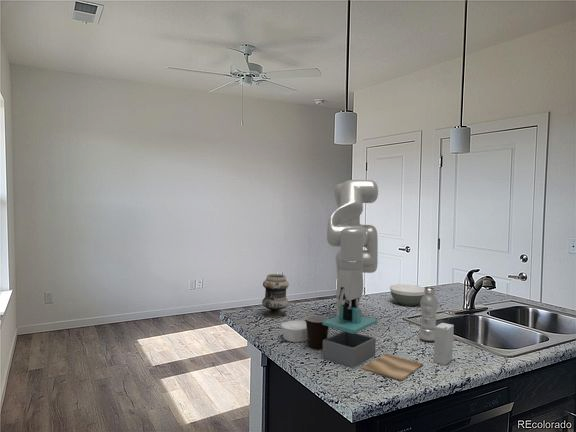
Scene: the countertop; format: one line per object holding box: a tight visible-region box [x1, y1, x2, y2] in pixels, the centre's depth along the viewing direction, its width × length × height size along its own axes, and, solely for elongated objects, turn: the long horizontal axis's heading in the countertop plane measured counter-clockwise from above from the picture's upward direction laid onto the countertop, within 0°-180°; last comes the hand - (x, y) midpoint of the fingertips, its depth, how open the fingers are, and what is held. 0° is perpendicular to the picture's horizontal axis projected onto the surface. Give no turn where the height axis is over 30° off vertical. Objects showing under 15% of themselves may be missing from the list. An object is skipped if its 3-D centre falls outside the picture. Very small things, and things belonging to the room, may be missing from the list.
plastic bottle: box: [418, 286, 439, 342], centre depth 157 cm, size 6×7×20 cm
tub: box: [321, 331, 377, 368], centre depth 139 cm, size 14×12×6 cm
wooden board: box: [361, 353, 424, 382], centre depth 131 cm, size 16×13×1 cm
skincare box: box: [433, 322, 455, 366], centre depth 137 cm, size 6×4×12 cm
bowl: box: [389, 283, 425, 307], centre depth 213 cm, size 19×19×8 cm
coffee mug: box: [305, 315, 330, 351], centre depth 150 cm, size 12×9×10 cm
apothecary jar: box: [261, 273, 290, 319], centre depth 188 cm, size 12×12×18 cm
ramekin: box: [280, 320, 308, 343], centre depth 157 cm, size 11×11×5 cm
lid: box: [322, 306, 378, 334], centre depth 140 cm, size 14×12×6 cm
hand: (350, 318), depth 140 cm, fingers closed on lid
